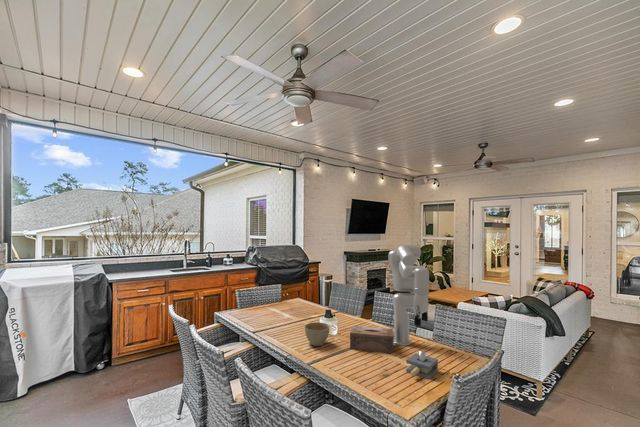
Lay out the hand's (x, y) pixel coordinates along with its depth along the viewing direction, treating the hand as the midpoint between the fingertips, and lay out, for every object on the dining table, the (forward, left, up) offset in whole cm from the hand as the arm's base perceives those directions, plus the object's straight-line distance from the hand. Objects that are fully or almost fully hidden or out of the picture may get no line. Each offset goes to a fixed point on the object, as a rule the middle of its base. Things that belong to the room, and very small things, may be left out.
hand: (421, 322), depth 168 cm
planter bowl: (-64, -11, -23) cm, 69 cm away
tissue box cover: (-35, +8, -24) cm, 43 cm away
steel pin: (+2, -5, -23) cm, 24 cm away
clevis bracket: (+2, -8, -23) cm, 25 cm away
